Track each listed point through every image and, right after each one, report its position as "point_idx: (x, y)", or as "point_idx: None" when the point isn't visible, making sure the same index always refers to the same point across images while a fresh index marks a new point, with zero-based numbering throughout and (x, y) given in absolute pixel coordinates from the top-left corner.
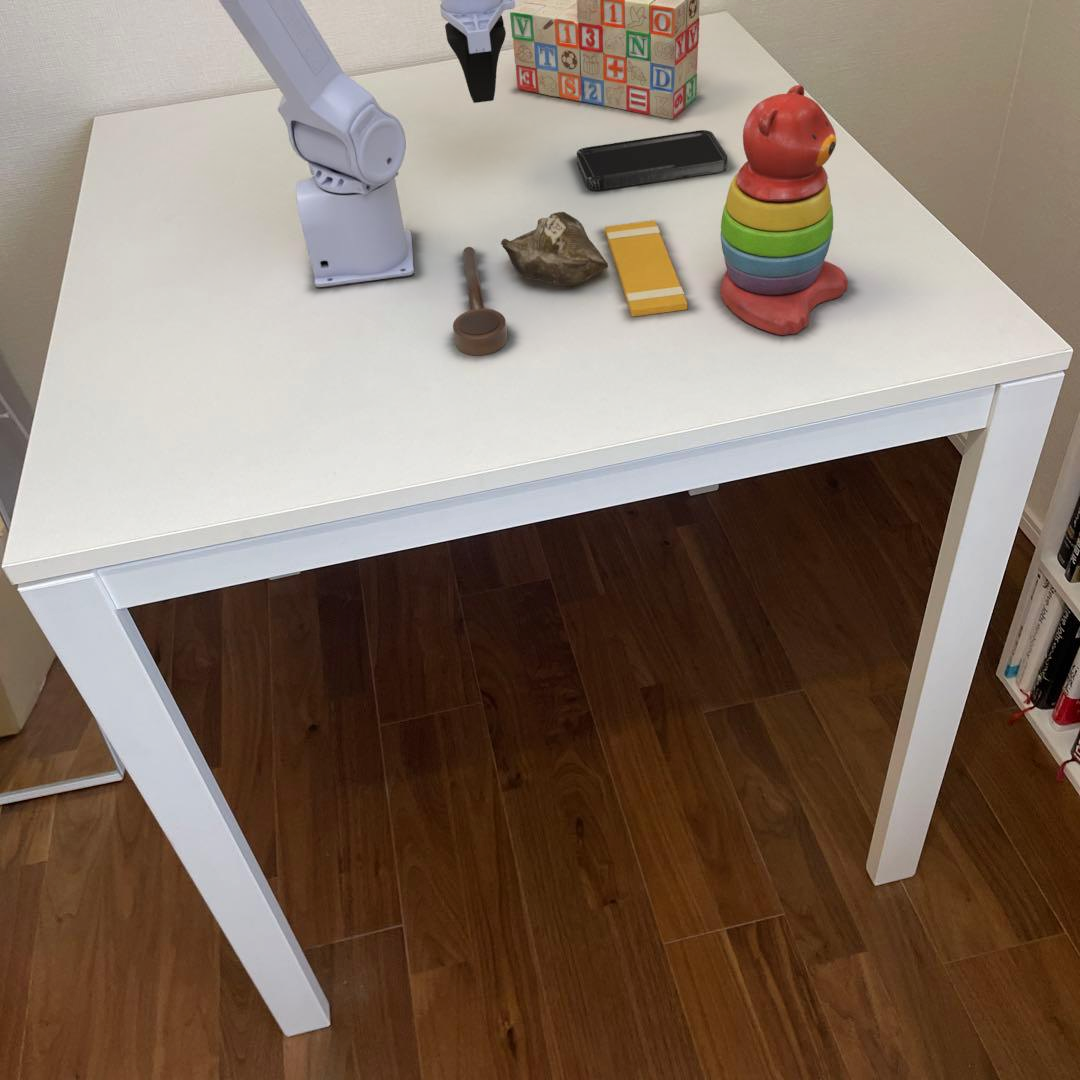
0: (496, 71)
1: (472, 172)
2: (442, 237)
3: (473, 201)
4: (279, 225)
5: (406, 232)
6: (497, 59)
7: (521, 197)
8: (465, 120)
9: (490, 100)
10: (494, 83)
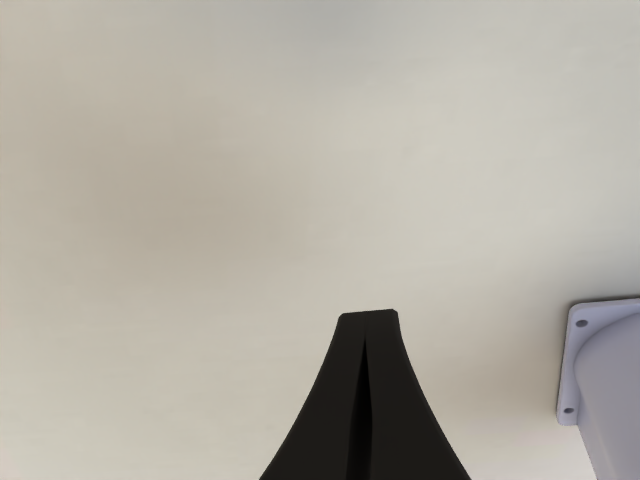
0: (421, 402)
1: (288, 208)
2: (603, 246)
3: (442, 196)
4: None
5: (581, 315)
6: (461, 467)
7: (447, 75)
8: (20, 240)
9: (398, 319)
10: (407, 360)
